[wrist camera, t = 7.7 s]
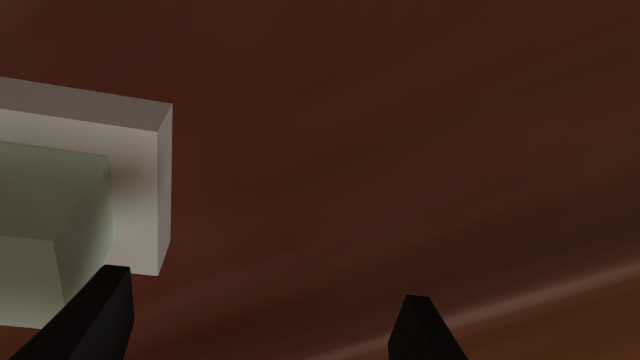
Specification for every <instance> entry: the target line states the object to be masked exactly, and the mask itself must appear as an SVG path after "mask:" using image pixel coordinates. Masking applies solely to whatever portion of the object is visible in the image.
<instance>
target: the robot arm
mask: <svg viewBox="0 0 640 360" xmlns="http://www.w3.org/2000/svg"><path fill="white" fill-rule="evenodd" d="M133 324H134V308H133V296H132V283H131V271H130V267H128V266H118V265H108V264H105V265H103V266H102V267H101V268H100V269H99V270H98V271H97V272H96V273H95V274H94V275H93V276H92V278H91V279H90V280H89V281H88V282H87V283H86V284H85V285H84V286H83V287H82V288H81V290H80V291H79V292H78V293H77V294H76V295H75V296H74V297H73V298H72V299H71V300H70V301H69V302H68V303H67V304H66V305H65V306H64V307H63V308H62V309H61V310H60V311H59V312H58V313H57V314H56V315H55V316H54V317H53V318H52V319H51V320H50V321H49V322H48V323H47V324H46V325H45V326H44V327H43V328H42V329H41V330H40V331H39V332H38V333H37V334H36V335H35V336H34V337H33V338H32V339H30V340H29V341H28V342H27V343H26V344H25V345H24V346H23V347H22V348H21V349H19V350H18V351H17V352H16V353H15V354H14V355H13V356H12V357H11V358H9V359H8V360H123V358H124V354H125V351H126V348H127V345H128V341H129V338H130V334H131V331H132V327H133ZM388 351H389V360H469V359H468V358H467V357H466V355H465V354H464V352H463V351H462V349H461V347H460V346H459V344H458V343H457V341H456V340H455V338H454V337H453V335H452V333H451V332H450V330H449V329H448V327H447V325H446V324H445V322H444V321H443V319H442V317H441V316H440V314H439V312H438V311H437V309H436V308H435V306H434V304H433V303H432V301H431V300H430V298H429V297H424V296H415V295H406V298H405V300H404V303H403V305H402V308H401V310H400V313H399V316H398V318H397V321H396V323H395V326H394V329H393V331H392V334H391V336H390V339H389V342H388Z"/></svg>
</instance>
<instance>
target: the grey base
mask: <svg viewBox="0 0 640 360" xmlns="http://www.w3.org/2000/svg"><path fill="white" fill-rule="evenodd" d="M0 141H2V142H9V143H16V144H23V145H30V146H37V147H44V148H51V149H58V150H65V151H72V152H79V153H86V154H93V155H100V156H107V157H108V162H109V175H110V188H111V201H112V214H113V227H114V241H113V243H112V245H111V247H110V249H109V251H108V253H107V255H106V258H105V260H104V262H103V264H102V266H103V265H105V264H108V265H118V266H128V267H130V271H131V273H135V274H144V275H153V276H158V274H159V272H160V269H161V266H162V263H163V260H164V257H165V254H166V252H167V249H168V246H169V243H170V222H171V159H172V104H170V103H163V102H157V101H151V100H144V99H138V98H132V97H126V96H119V95H113V94H107V93H100V92H94V91H88V90H81V89H75V88H69V87H63V86H56V85H50V84H44V83H37V82H31V81H25V80H18V79H12V78H6V77H0ZM102 266H101V267H102Z"/></svg>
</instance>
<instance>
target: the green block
mask: <svg viewBox="0 0 640 360" xmlns="http://www.w3.org/2000/svg"><path fill="white" fill-rule="evenodd" d="M113 241H114V227H113V214H112V201H111V188H110V175H109V162H108V157H107V156H100V155H93V154H86V153H79V152H72V151H65V150H58V149H51V148H44V147H37V146H30V145H23V144H16V143H9V142H2V141H0V325H7V326H18V327H28V328H38V329H42V328H43V327H44V326H45V325H46V324H47V323H48V322H49V321H50V320H51V319H52V318H53V317H54V316H55V315H56V314H57V313H58V312H59V311H60V310H61V309H62V308H63V307H64V306H65V305H66V304H67V303H68V302H69V301H70V300H71V299H72V298H73V297H74V296H75V295H76V294H77V293H78V292H79V291H80V290H81V288H82V287H83V286H84V285H85V284H86V283H87V282H88V281H89V280H90V279H91V278H92V276H93V275H94V274H95V273H96V272H97V271H98V270H99V269H100V268H101V266H102V264H103V262H104V260H105V258H106V255H107V253H108V251H109V249H110V247H111V245H112V243H113Z"/></svg>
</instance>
